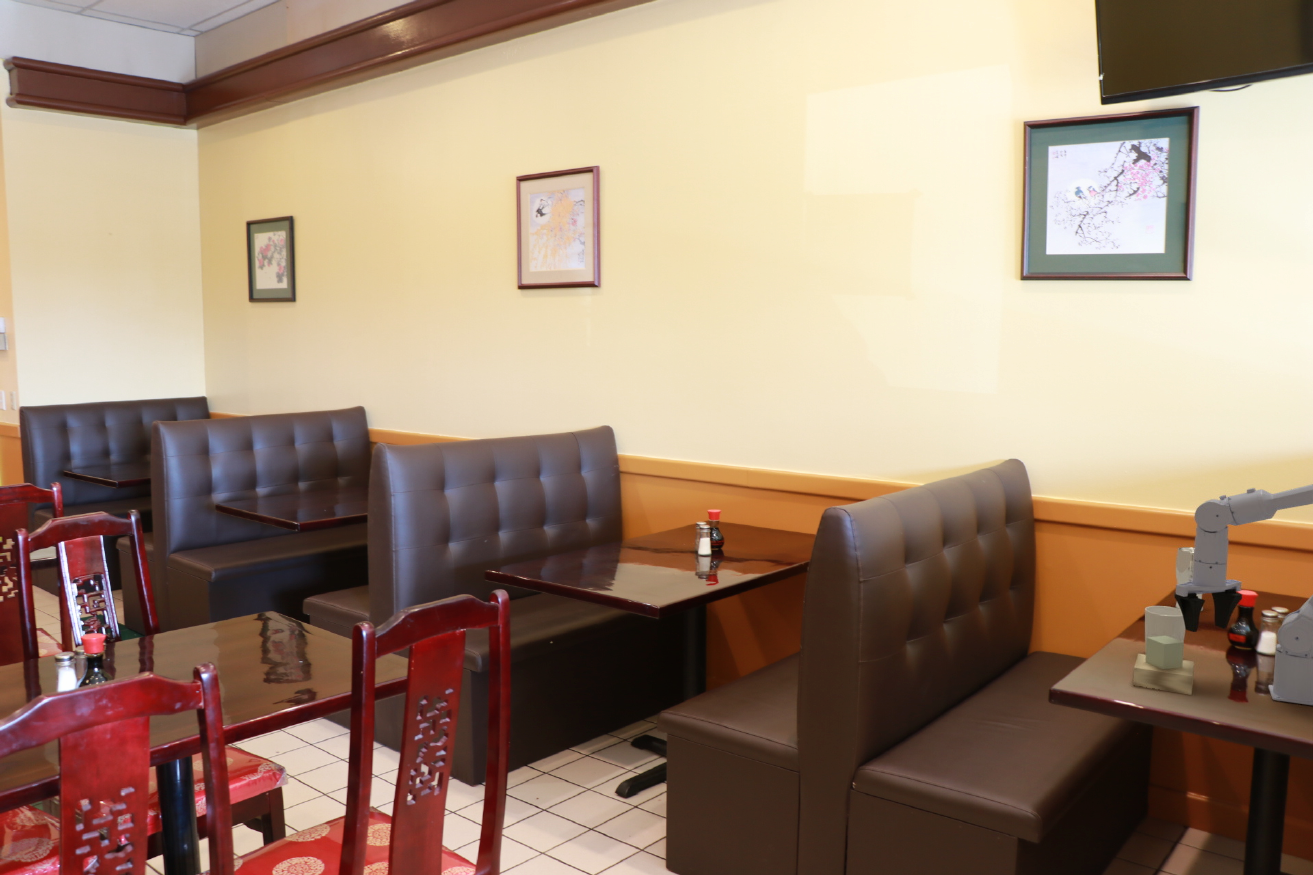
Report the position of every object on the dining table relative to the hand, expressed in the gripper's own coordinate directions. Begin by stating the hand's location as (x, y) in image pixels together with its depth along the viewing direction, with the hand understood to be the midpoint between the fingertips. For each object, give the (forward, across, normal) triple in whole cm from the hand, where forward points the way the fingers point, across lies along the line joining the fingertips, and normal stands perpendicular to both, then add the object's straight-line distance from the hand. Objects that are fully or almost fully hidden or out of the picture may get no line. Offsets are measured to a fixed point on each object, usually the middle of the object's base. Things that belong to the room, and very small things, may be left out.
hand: (1206, 628), depth 195 cm
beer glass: (+11, -41, -42) cm, 60 cm away
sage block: (+7, +9, -2) cm, 11 cm away
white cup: (+11, -4, -14) cm, 18 cm away
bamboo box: (+11, +8, -2) cm, 14 cm away
